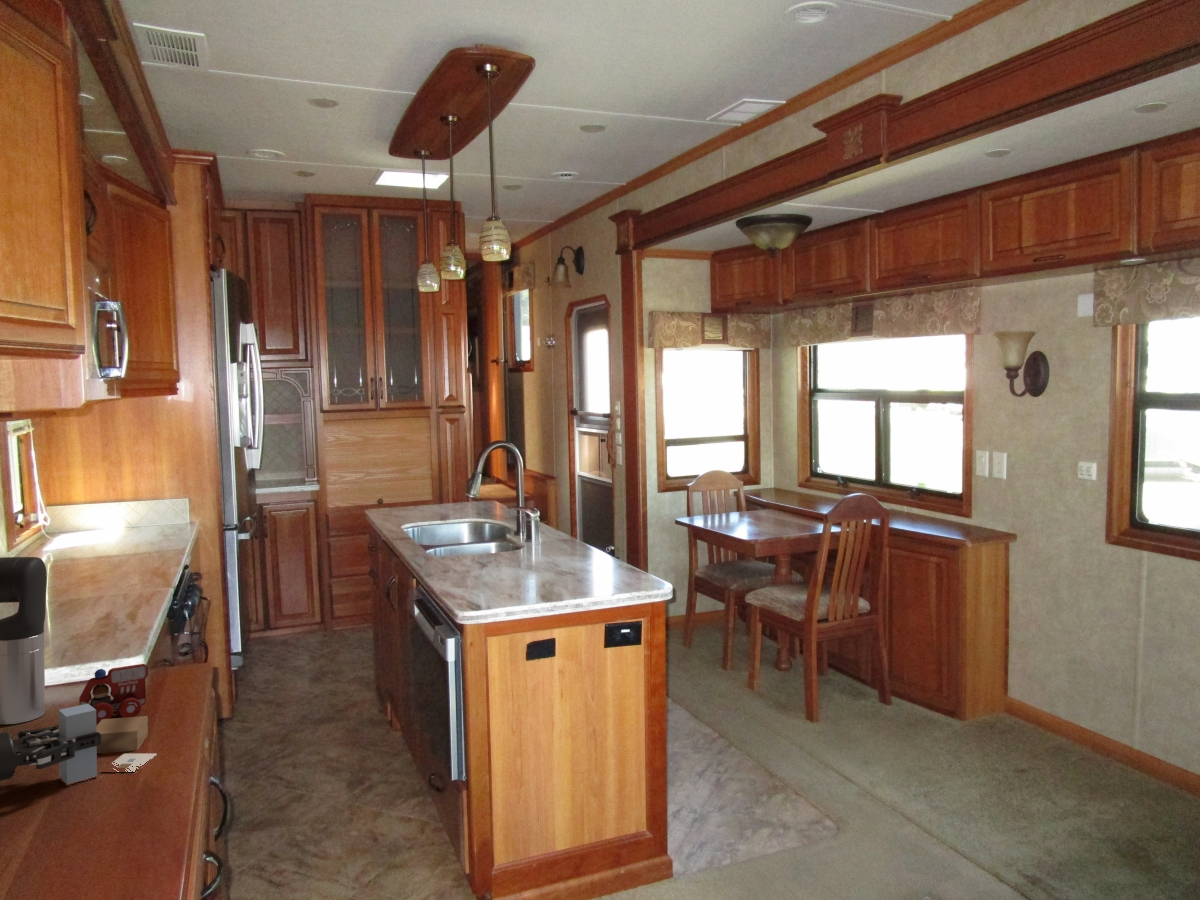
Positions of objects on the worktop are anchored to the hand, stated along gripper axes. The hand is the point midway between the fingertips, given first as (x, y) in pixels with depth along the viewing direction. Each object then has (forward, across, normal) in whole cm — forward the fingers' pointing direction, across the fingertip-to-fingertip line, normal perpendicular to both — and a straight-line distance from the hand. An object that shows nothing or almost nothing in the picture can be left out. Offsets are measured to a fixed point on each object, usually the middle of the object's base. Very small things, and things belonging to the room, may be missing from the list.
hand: (95, 734), depth 146 cm
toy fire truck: (+12, +28, +7) cm, 31 cm away
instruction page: (+6, 0, +7) cm, 9 cm away
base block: (+7, +11, +7) cm, 15 cm away
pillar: (-3, 0, +7) cm, 8 cm away
